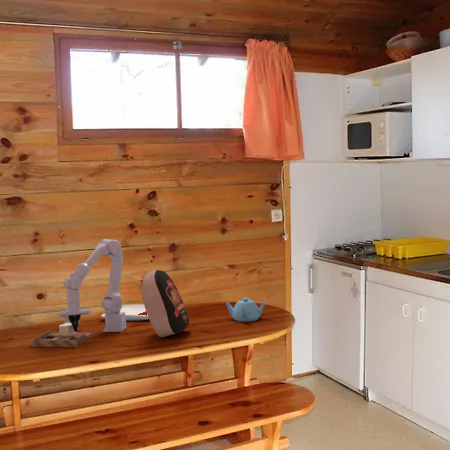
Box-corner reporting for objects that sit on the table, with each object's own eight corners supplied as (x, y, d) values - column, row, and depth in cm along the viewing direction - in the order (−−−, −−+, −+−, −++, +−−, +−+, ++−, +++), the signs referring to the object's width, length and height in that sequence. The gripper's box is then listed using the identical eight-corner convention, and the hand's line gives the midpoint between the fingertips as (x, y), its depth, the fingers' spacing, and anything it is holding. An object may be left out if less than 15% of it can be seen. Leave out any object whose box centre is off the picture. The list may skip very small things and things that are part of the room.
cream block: (76, 332, 273) (76, 323, 273) (68, 335, 268) (68, 326, 268) (67, 332, 275) (66, 322, 275) (59, 335, 270) (58, 325, 270)
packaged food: (181, 341, 256) (177, 273, 254) (138, 340, 260) (134, 274, 258) (192, 328, 278) (189, 266, 275) (153, 328, 281) (150, 267, 279)
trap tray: (92, 336, 272) (92, 329, 272) (76, 347, 254) (75, 340, 254) (51, 336, 276) (50, 329, 275) (32, 346, 258) (31, 340, 258)
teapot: (268, 319, 289) (267, 297, 289) (244, 324, 281) (243, 302, 280) (249, 314, 302) (248, 293, 301) (225, 319, 293) (224, 298, 292)
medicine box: (72, 328, 290) (71, 310, 289) (64, 328, 291) (63, 310, 290) (79, 324, 297) (78, 307, 297) (71, 324, 298) (70, 307, 298)
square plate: (150, 322, 295) (150, 315, 295) (100, 322, 300) (99, 315, 300) (165, 310, 322) (165, 303, 322) (118, 310, 327) (118, 304, 327)
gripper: (90, 299, 273) (92, 327, 274) (58, 301, 271) (60, 330, 272) (89, 302, 266) (91, 331, 267) (56, 304, 264) (58, 334, 265)
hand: (75, 331), depth 269 cm, fingers closed
